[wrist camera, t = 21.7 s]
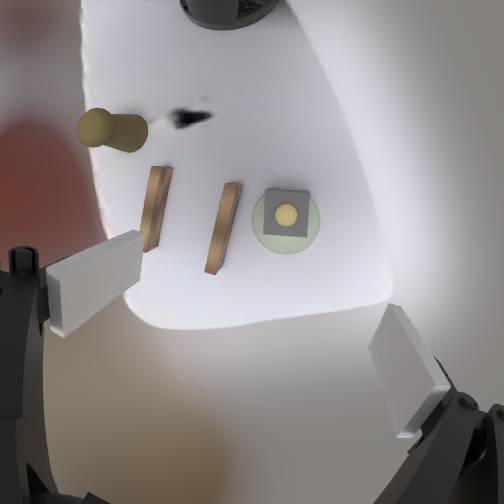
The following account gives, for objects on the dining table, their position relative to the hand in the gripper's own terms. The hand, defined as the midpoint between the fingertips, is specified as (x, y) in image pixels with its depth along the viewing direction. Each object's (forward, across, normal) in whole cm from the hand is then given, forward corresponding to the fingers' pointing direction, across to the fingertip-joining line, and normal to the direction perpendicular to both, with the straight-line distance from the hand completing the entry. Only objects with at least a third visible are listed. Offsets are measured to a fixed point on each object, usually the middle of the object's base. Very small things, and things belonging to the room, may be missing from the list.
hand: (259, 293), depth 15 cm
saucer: (+27, 0, -1) cm, 27 cm away
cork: (+27, -25, +7) cm, 38 cm away
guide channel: (+27, -12, -3) cm, 30 cm away
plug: (+26, 0, +1) cm, 26 cm away
